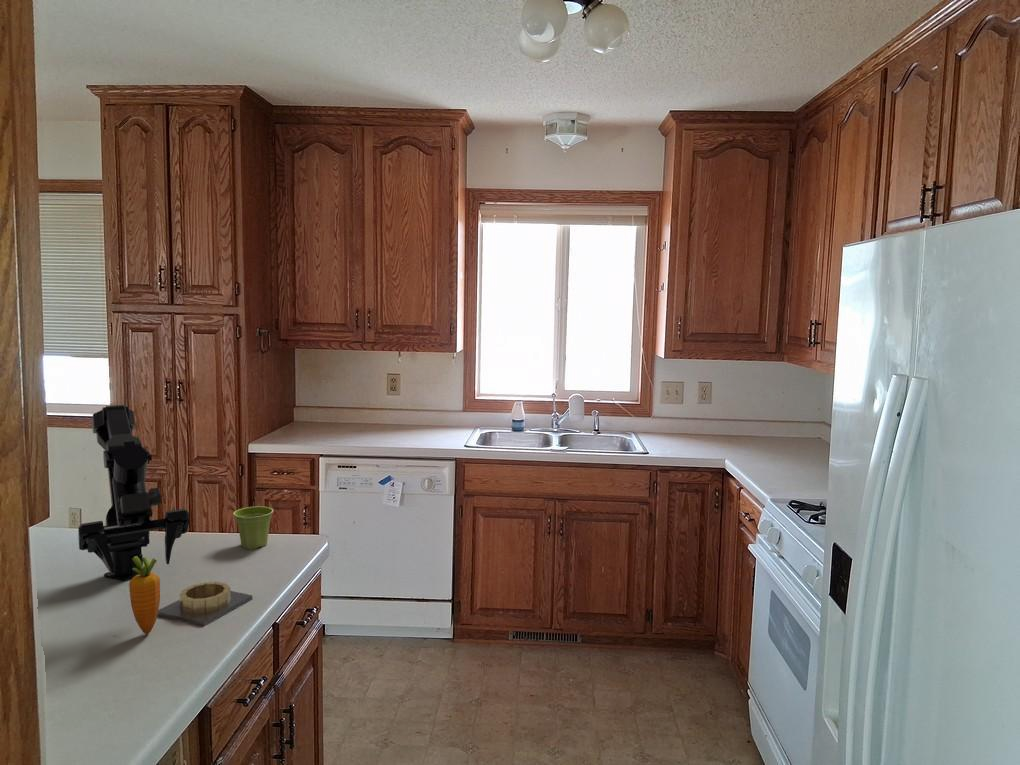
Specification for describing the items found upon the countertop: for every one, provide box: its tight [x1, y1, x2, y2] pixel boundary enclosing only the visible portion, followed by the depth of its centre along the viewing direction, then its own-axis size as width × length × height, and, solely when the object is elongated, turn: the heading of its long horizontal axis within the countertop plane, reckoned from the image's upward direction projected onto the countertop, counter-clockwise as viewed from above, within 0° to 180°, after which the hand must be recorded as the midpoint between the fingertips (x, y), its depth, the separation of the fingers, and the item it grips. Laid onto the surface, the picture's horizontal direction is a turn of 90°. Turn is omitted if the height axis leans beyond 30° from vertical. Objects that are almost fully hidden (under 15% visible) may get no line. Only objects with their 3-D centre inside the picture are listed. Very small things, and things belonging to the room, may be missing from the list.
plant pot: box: [233, 506, 274, 549], centre depth 174 cm, size 9×9×9 cm
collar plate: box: [157, 581, 253, 627], centre depth 139 cm, size 12×13×3 cm
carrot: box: [128, 556, 161, 636], centre depth 127 cm, size 5×5×15 cm
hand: (141, 568), depth 130 cm, fingers open, 9 cm apart
